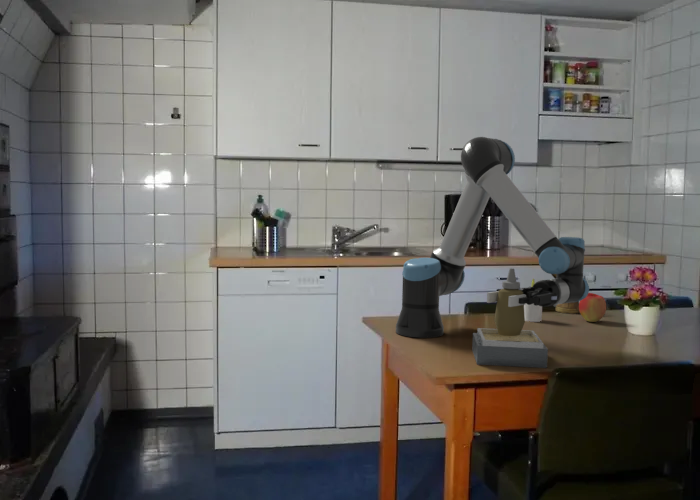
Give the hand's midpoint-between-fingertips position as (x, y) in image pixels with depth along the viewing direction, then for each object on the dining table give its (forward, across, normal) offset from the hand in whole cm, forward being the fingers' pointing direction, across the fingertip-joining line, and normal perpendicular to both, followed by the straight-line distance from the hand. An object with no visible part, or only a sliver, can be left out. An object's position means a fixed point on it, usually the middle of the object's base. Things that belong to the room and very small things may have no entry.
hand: (498, 299), depth 181 cm
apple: (-74, +16, -17) cm, 77 cm away
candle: (-57, +30, -17) cm, 67 cm away
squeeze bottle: (-5, 0, -10) cm, 11 cm away
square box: (-5, 0, -17) cm, 18 cm away
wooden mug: (-84, +35, -17) cm, 92 cm away
